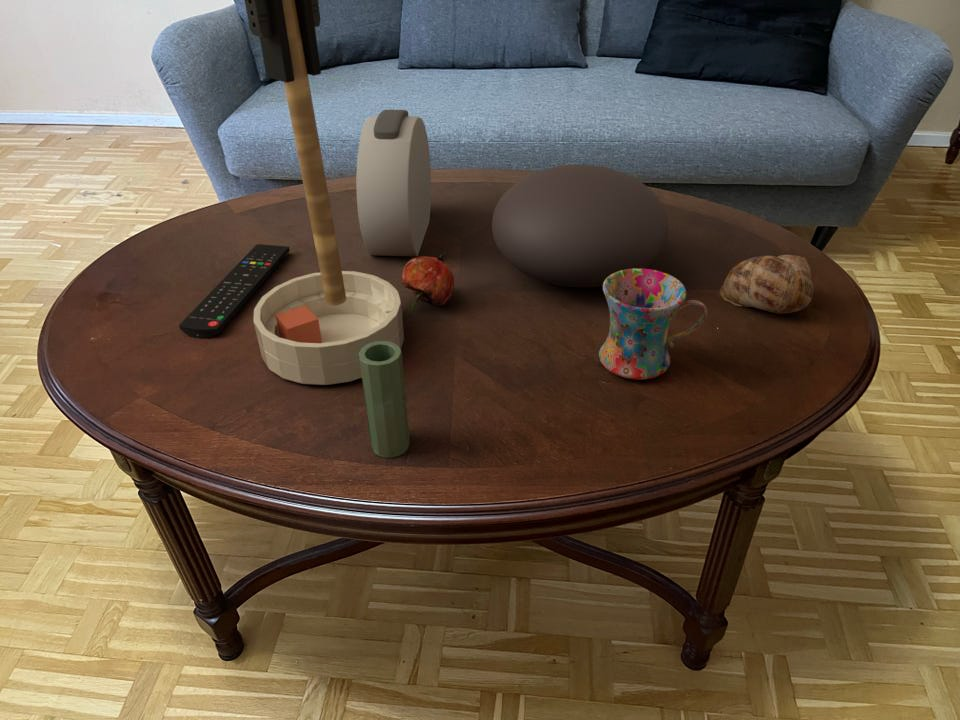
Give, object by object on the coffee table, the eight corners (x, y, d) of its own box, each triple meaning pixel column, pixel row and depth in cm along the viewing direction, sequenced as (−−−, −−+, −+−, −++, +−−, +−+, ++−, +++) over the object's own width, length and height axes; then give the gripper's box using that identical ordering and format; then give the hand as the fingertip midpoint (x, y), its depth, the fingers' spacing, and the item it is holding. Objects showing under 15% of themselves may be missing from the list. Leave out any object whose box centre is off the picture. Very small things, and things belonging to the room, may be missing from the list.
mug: (594, 383, 84) (602, 306, 78) (595, 339, 91) (603, 265, 85) (699, 392, 82) (716, 314, 76) (692, 346, 90) (706, 272, 84)
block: (292, 356, 88) (287, 329, 86) (280, 341, 91) (275, 314, 88) (323, 345, 90) (318, 318, 87) (310, 331, 92) (305, 304, 90)
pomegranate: (436, 335, 96) (479, 276, 97) (402, 308, 91) (448, 245, 92) (407, 317, 102) (448, 261, 102) (373, 290, 97) (417, 231, 97)
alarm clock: (390, 209, 125) (380, 92, 113) (433, 210, 124) (426, 92, 112) (364, 267, 107) (348, 137, 96) (413, 269, 107) (403, 137, 95)
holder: (389, 463, 73) (378, 370, 66) (363, 446, 76) (350, 353, 69) (417, 443, 76) (409, 351, 69) (391, 427, 78) (381, 336, 71)
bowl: (323, 408, 81) (315, 365, 77) (234, 350, 90) (224, 310, 87) (432, 341, 91) (429, 301, 88) (342, 295, 101) (337, 257, 97)
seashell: (785, 274, 103) (817, 237, 93) (798, 332, 99) (833, 298, 90) (713, 276, 102) (738, 238, 93) (724, 334, 99) (750, 300, 90)
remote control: (290, 254, 111) (288, 246, 110) (217, 340, 92) (214, 331, 91) (258, 251, 112) (256, 244, 111) (179, 336, 93) (176, 327, 92)
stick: (337, 307, 69) (272, -52, 52) (321, 303, 69) (252, -52, 53) (350, 298, 70) (291, -55, 53) (334, 293, 71) (271, -55, 54)
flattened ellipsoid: (473, 244, 113) (472, 152, 105) (620, 225, 118) (630, 136, 109) (519, 326, 94) (521, 222, 85) (692, 300, 99) (711, 198, 90)
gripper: (294, -300, 51) (336, 51, 65) (84, -330, 42) (185, 87, 56) (364, -314, 47) (393, 64, 61) (149, -349, 38) (240, 105, 52)
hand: (293, 74), depth 58 cm, fingers closed on stick, 2 cm apart
